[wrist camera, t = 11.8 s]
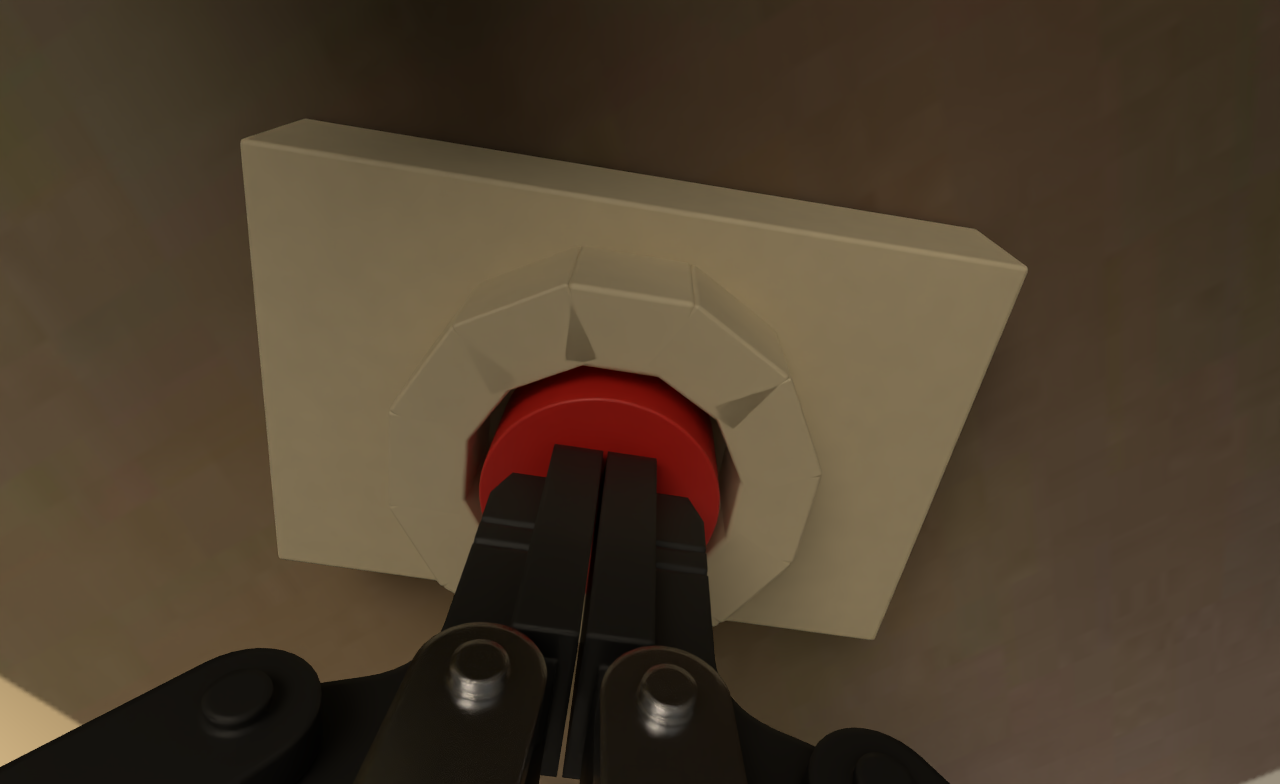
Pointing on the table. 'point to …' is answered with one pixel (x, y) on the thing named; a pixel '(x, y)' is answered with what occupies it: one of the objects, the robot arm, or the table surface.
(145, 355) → the table surface
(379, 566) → the box
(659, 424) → the release button
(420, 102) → the table surface
